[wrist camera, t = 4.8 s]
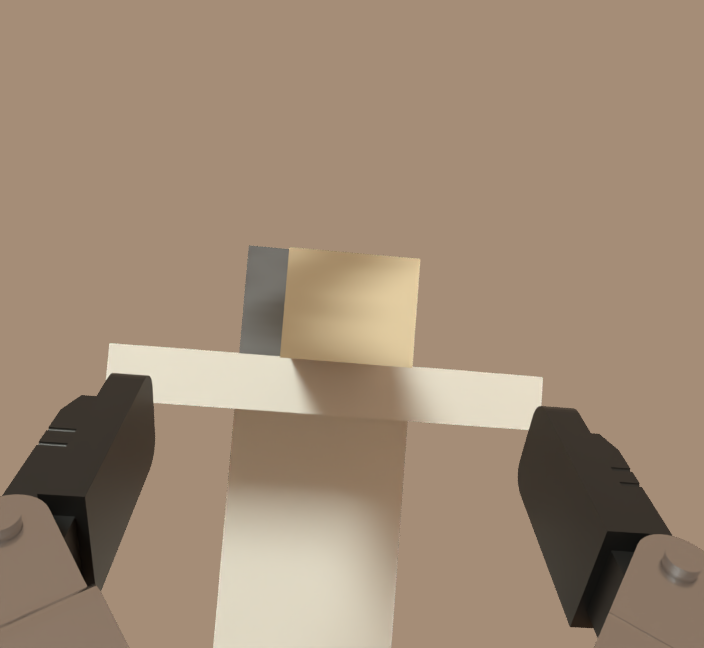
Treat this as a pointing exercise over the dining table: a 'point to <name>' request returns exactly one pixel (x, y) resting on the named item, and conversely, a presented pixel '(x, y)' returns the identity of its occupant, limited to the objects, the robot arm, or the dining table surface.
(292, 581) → the stand
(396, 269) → the grey and beige blocks
